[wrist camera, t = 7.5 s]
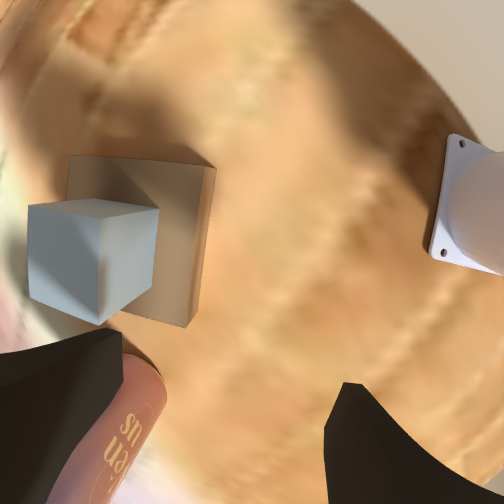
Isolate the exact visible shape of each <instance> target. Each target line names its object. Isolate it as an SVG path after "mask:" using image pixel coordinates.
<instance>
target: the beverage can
mask: <svg viewBox="0 0 504 504" xmlns="http://www.w3.org/2000/svg"><path fill="white" fill-rule="evenodd" d="M122 358H123V376H124V381H123V383H122V385H121V387H120V388H119V390H118V392H117V394H116V395H115V397H114V399H113V400H112V402H111V403H110V405H109V406H108V407H107V409H106V410H105V411H104V412H103V414H102V415H101V416H100V417H99V419H98V420H97V421H96V422H95V424H94V425H93V426H92V427H91V429H90V430H89V431H88V432H87V434H86V435H85V436H84V437H83V439H82V440H81V441H80V442H79V444H78V445H77V446H76V448H75V449H74V451H73V452H72V454H71V455H70V457H69V459H68V460H67V462H66V464H65V466H64V467H63V469H62V471H61V473H60V475H59V476H58V478H57V480H56V482H55V484H54V486H53V488H52V490H51V492H50V495H49V497H48V499H47V502H46V504H109V503H110V502H111V500H112V498H113V496H114V495H115V493H116V491H117V489H118V488H119V486H120V484H121V482H122V481H123V479H124V477H125V475H126V473H127V472H128V470H129V468H130V466H131V465H132V463H133V461H134V459H135V458H136V456H137V454H138V452H139V451H140V449H141V447H142V445H143V444H144V442H145V440H146V438H147V437H148V435H149V433H150V431H151V430H152V428H153V426H154V424H155V423H156V421H157V419H158V417H159V415H160V414H161V412H162V410H163V408H164V407H165V405H166V402H167V392H166V388H165V384H164V382H163V380H162V378H161V376H160V374H159V373H158V372H157V371H156V369H155V368H154V367H153V366H151V365H150V364H149V363H148V362H146V361H145V360H143V359H141V358H139V357H137V356H135V355H131V354H125V353H122Z"/></svg>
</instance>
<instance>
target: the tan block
mask: <svg viewBox="0 0 504 504" xmlns="http://www.w3.org/2000/svg"><path fill="white" fill-rule="evenodd" d="M216 171H217V169H215V168H211V167H207V166H200V165H192V164H183V163H174V162H165V161H154V160H143V159H131V158H117V157H101V156H80V155H70V161H69V169H68V178H67V189H66V201H70V200H81V199H92V198H96V199H103V200H109V201H115V202H122V203H128V204H134V205H140V206H146V207H152V208H158V209H159V217H158V225H157V234H156V243H155V253H154V264H153V276H152V287H151V288H149V289H148V290H146V291H145V292H144V293H142V294H141V295H140V296H138V297H137V298H135V299H134V300H133V301H131V302H130V303H129V304H127V305H126V306H125V307H123V308H122V309H121V311H124V312H128V313H131V314H134V315H138V316H141V317H145V318H148V319H152V320H156V321H159V322H163V323H167V324H171V325H174V326H178V327H182V328H186V327H187V325H188V324H189V323H190V321H191V320H192V319H193V317H194V316H195V314H196V313H197V312H198V303H199V294H200V286H201V277H202V269H203V261H204V253H205V246H206V238H207V231H208V224H209V217H210V210H211V203H212V197H213V190H214V184H215V177H216Z"/></svg>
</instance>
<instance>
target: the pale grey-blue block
mask: <svg viewBox="0 0 504 504" xmlns="http://www.w3.org/2000/svg"><path fill="white" fill-rule="evenodd" d="M158 217H159V209H158V208H152V207H146V206H140V205H134V204H128V203H122V202H115V201H109V200H103V199H96V198H92V199H81V200H70V201H60V202H51V203H42V204H34V205H28V226H27V256H28V279H29V292H30V298H32V299H34V300H36V301H39V302H41V303H43V304H45V305H48V306H50V307H52V308H55V309H57V310H60V311H62V312H64V313H67V314H69V315H72V316H74V317H77V318H80V319H82V320H85V321H87V322H90V323H93V324H95V325H98V326H99V325H100V324H102V323H103V322H104V321H106V320H107V319H108V318H110V317H111V316H112V315H114V314H115V313H116V312H118V311H119V310H121V309H122V308H123V307H125V306H126V305H127V304H129V303H130V302H131V301H133V300H134V299H135V298H137V297H138V296H140V295H141V294H142V293H144V292H145V291H146V290H148V289H149V288H151V287H152V276H153V264H154V253H155V243H156V234H157V225H158Z"/></svg>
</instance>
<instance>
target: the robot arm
mask: <svg viewBox="0 0 504 504" xmlns="http://www.w3.org/2000/svg"><path fill="white" fill-rule="evenodd" d="M459 141H461V142H462V147H460V145H459ZM442 249H444V254H443V255H442V256H441V254H440V252H441V250H442ZM429 255H430V256H431V257H432V258H434V259H437V260H441V261H446V262H450V263H454V264H458V265H462V266H466V267H470V268H474V269H478V270H482V271H486V272H490V273H494V274H497V275H501V276H504V152H495V151H493V150H491V149H489V148H487V147H484V146H482V145H480V144H478V143H476V142H474V141H472V140H469V139H467V138H465V137H462V136H460V135H458V134H451V135H449V136H448V139H447V148H446V158H445V166H444V173H443V180H442V187H441V193H440V198H439V204H438V209H437V214H436V219H435V224H434V229H433V233H432V238H431V242H430V246H429ZM123 381H124V376H123V358H122V333H121V332H118V331H115V330H112V329H109V328H102V329H98V330H94V331H91V332H87V333H84V334H81V335H78V336H74V337H71V338H68V339H65V340H61V341H58V342H55V343H51V344H47V345H43V346H39V347H35V348H31V349H27V350H22V351H17V352H10V353H3V354H0V504H46V502H47V499H48V497H49V495H50V492H51V490H52V488H53V486H54V484H55V482H56V480H57V478H58V476H59V475H60V473H61V471H62V469H63V467H64V466H65V464H66V462H67V460H68V459H69V457H70V455H71V454H72V452H73V451H74V449H75V448H76V446H77V445H78V444H79V442H80V441H81V440H82V439H83V437H84V436H85V435H86V434H87V432H88V431H89V430H90V429H91V427H92V426H93V425H94V424H95V422H96V421H97V420H98V419H99V417H100V416H101V415H102V414H103V412H104V411H105V410H106V409H107V407H108V406H109V405H110V403H111V402H112V400H113V399H114V397H115V395H116V394H117V392H118V390H119V388H120V387H121V385H122V383H123ZM324 462H325V472H326V481H327V491H328V501H329V504H504V496H501V495H499V494H496V493H494V492H492V491H489V490H487V489H485V488H482V487H480V486H478V485H476V484H474V483H472V482H470V481H469V480H467V479H465V478H464V477H462V476H460V475H459V474H457V473H455V472H454V471H452V470H451V469H449V468H448V467H446V466H445V465H443V464H442V463H441V462H439V461H438V460H437V459H435V458H434V457H433V456H432V455H430V454H429V453H428V452H427V451H425V450H424V449H423V448H422V447H421V446H420V445H419V444H418V443H417V442H416V441H414V440H413V439H412V438H411V437H410V436H409V435H408V434H407V433H406V432H405V431H404V430H403V429H402V428H401V427H400V426H399V425H398V424H397V423H396V421H395V420H394V419H393V418H392V417H391V416H390V415H389V414H388V413H387V412H386V410H385V409H384V408H383V407H382V406H381V405H380V404H379V402H378V401H377V400H376V399H375V398H374V397H373V396H372V395H371V393H370V392H369V391H368V390H367V389H366V388H365V387H364V386H363V385H362V384H356V383H347V382H344V383H343V385H342V388H341V390H340V393H339V395H338V397H337V400H336V402H335V404H334V407H333V409H332V411H331V414H330V416H329V418H328V420H327V422H326V425H325V427H324Z"/></svg>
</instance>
